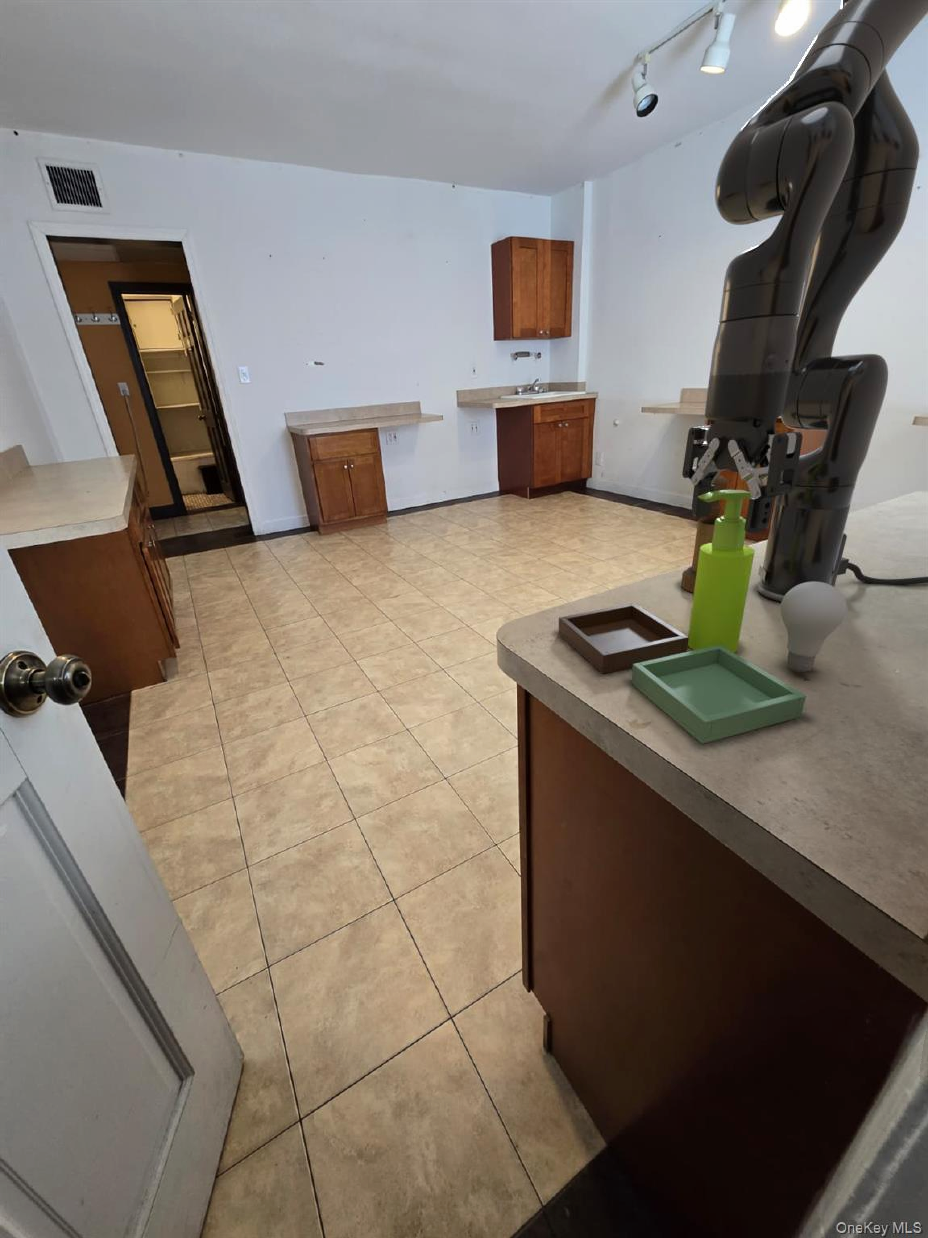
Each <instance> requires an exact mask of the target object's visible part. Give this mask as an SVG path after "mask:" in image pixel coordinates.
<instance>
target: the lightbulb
mask: <svg viewBox="0 0 928 1238" xmlns="http://www.w3.org/2000/svg"><path fill="white" fill-rule="evenodd" d="M847 614H848V604H847V600H846V599H845V597H844V595H843V594H842V592H841V591H840V590H839V589H837V588H836V587H835V586H834V587H833V586H831V585H829V584H827V583H823V582H806V583H802V584H799V585H797V586H795V587H794V588H792V589H791V590H790V591H789V592H787V593H786V595H785V596H784V598H783V600H782V602H781V601H780V615H781V618H782V619H781V620H782V622H783V624H784V627H785V628H786V632H787V650H788V653H787V660H786V665H787V666H788V667H789V668H790V669H792V670H793V671H794V672H796V673H802V672H808V671H811V670H812V669H813V666H814V663H815V660H816V657H817V656H818V655H819V654H820V651H821V649H822V646H823V645H824V643H825V641H827V639H828V638H829V636H831V635H832V634H833V633H834V632H835V631H836V630H838V629H839V628H840V627H841V625H842V624H843V623H844V621H845V619H846V618H847Z"/></svg>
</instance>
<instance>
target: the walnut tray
mask: <svg viewBox="0 0 928 1238" xmlns="http://www.w3.org/2000/svg"><path fill="white" fill-rule="evenodd" d="M558 635H559V636H560V637H561V638H562V639H564V641H566V642H567V643H568V644H569V645H570V646H571V647H572V648H573V649H574V650H576V652H578V653H579V654H580V655H581V656H582V657H583V658H584V659H585V660H586V661H588V663H590V664H591V665H592V666H593V667H595V669H596V670H597V671H599V672H600V674H602V675H604V674H609V673H613V672H618V671H623V670H627V669H631V668H632V669H633V664H635V663H640V662H644V661H649V660H653V659H658V658H662V657H667V656H671V655H676V654H680V653H685V652H688V649H689V646H688V641H689V637H688V635H686V634H685V633H683V632H681V631H680V630H678V629H676V628H675V627H673V626H672V625H670V624H668V623H667V622H665V621H664V620H662V619H660V618H659V617H657V616H656V615H654V614H652V613H651V612H649V611H648V610H646V609H644V608H643V607H641V606H640V605H638V604H636V603H635V602H633V603H628V604H622V605H619V606H617V605H616V606H613V607H607V608H606V607H605V608H601V609H596V610H591V611H586V612H582V613H576V614H571V615H564V616H560V617H558Z"/></svg>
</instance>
